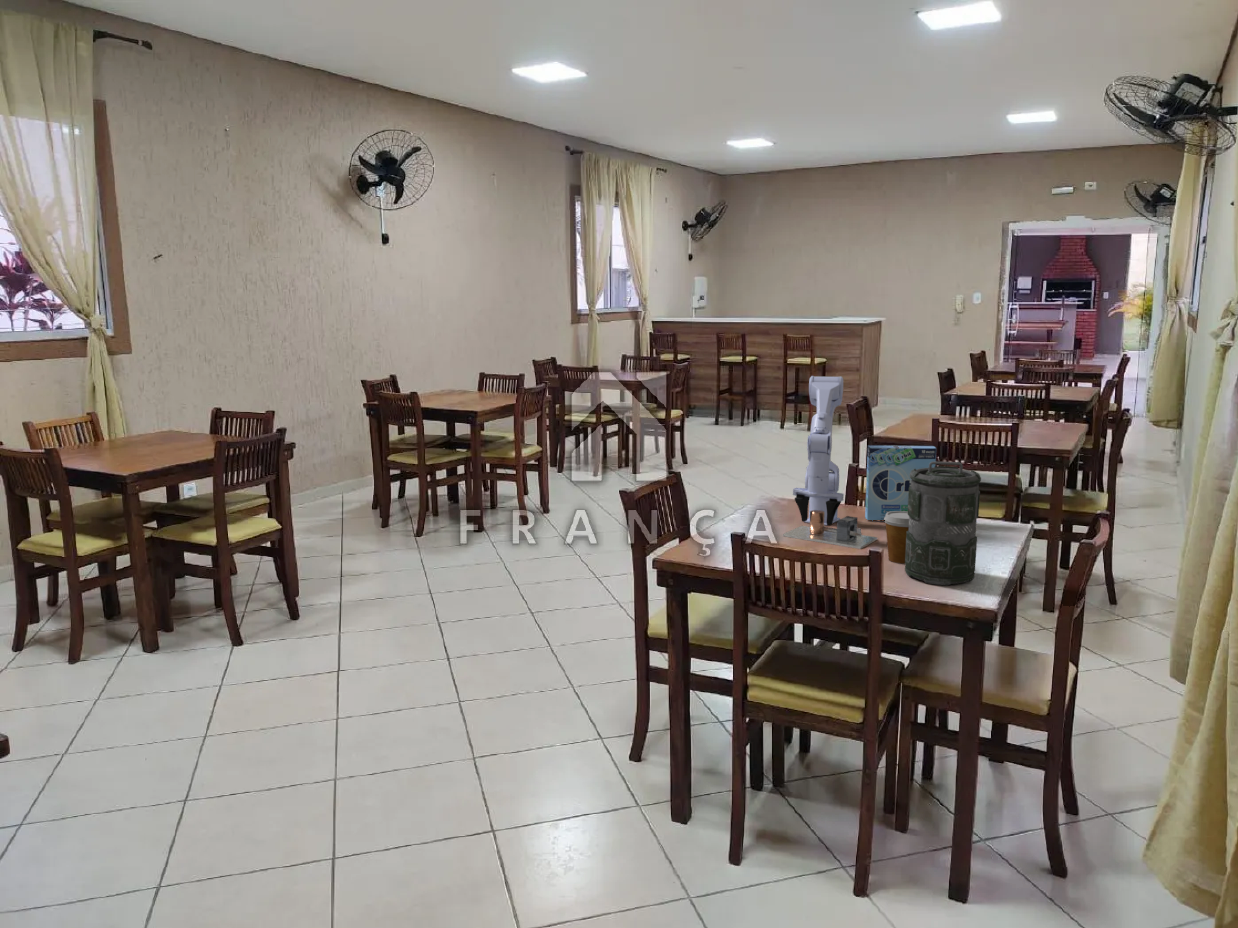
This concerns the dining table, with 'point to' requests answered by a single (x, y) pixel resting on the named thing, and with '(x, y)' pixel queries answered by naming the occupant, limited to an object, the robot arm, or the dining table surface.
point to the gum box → (892, 476)
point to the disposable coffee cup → (897, 535)
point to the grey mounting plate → (835, 534)
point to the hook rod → (818, 524)
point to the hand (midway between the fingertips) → (816, 522)
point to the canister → (942, 524)
